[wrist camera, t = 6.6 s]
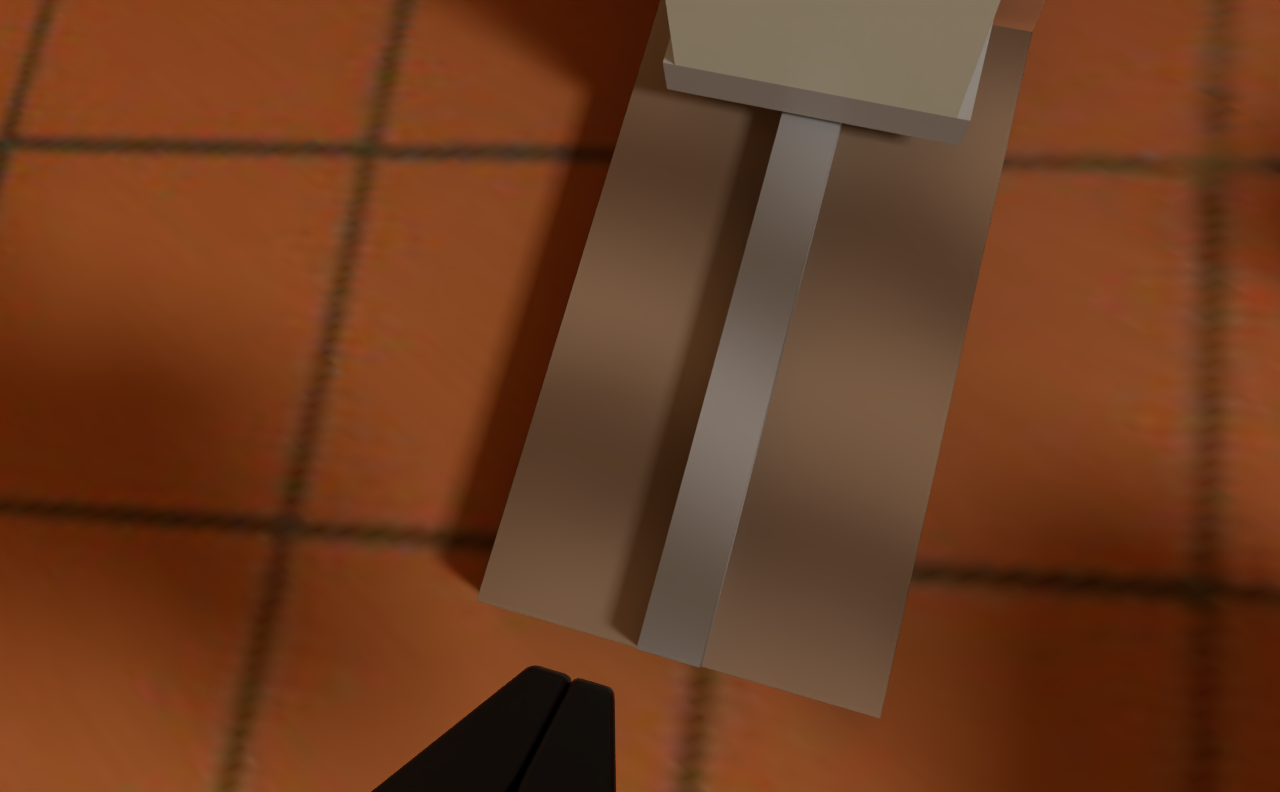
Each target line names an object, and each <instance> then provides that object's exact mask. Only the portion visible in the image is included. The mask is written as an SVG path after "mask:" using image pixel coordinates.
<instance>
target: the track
mask: <svg viewBox="0 0 1280 792" xmlns="http://www.w3.org/2000/svg"><path fill="white" fill-rule="evenodd" d="M1045 2H1046V0H1001V1H1000V3H999V6H998V9H997V11H996V14H995V17H994V20H993V25H992V29H991V33H990V38H989V42H988V46H987V51H986V55H985V59H984V64H983V68H982V72H981V77H980V81H979V85H978V90H977V94H976V98H975V103H974V107H973V111H972V116H971V120H970V123H969V125H968V128H967V130H966V133H965V135H964V138H963V140H962V143H961V145H960V146H958V145H953V144H948V143H943V142H937V141H932V140H927V139H922V138H917V137H912V136H906V135H901V134H896V133H891V132H886V131H881V130H876V129H870V128H865V127H860V126H855V125H850V124H845V123H839V122H834V121H829V120H824V119H819V118H814V117H809V116H803V115H798V114H793V113H788V112H783V111H778V110H772V109H767V108H762V107H757V106H752V105H747V104H741V103H736V102H731V101H726V100H721V99H716V98H711V97H705V96H700V95H695V94H690V93H685V92H680V91H674V90H669V89H667V85H666V79H665V73H664V67H663V60H664V57H665V53H666V50H667V47H668V44H669V40H670V37H671V35H670V28H669V21H668V15H667V8H666V1H665V0H660V3H659V6H658V10H657V13H656V16H655V19H654V23H653V26H652V29H651V32H650V36H649V39H648V42H647V46H646V49H645V52H644V55H643V59H642V62H641V65H640V68H639V72H638V75H637V78H636V81H635V85H634V88H633V91H632V95H631V98H630V101H629V104H628V108H627V111H626V114H625V117H624V121H623V124H622V127H621V130H620V134H619V137H618V140H617V144H616V147H615V150H614V153H613V157H612V160H611V163H610V166H609V170H608V173H607V176H606V180H605V183H604V186H603V189H602V193H601V196H600V199H599V202H598V206H597V209H596V212H595V215H594V219H593V222H592V225H591V229H590V232H589V235H588V238H587V242H586V245H585V248H584V251H583V255H582V258H581V261H580V264H579V268H578V271H577V274H576V278H575V281H574V284H573V287H572V291H571V294H570V297H569V300H568V304H567V307H566V310H565V314H564V317H563V320H562V323H561V327H560V330H559V333H558V336H557V340H556V343H555V346H554V349H553V353H552V356H551V359H550V363H549V366H548V369H547V372H546V376H545V379H544V382H543V385H542V389H541V392H540V395H539V398H538V402H537V405H536V408H535V412H534V415H533V418H532V421H531V425H530V428H529V431H528V434H527V438H526V441H525V444H524V448H523V451H522V454H521V457H520V461H519V464H518V467H517V470H516V474H515V477H514V480H513V483H512V487H511V490H510V493H509V497H508V500H507V503H506V506H505V510H504V513H503V516H502V519H501V523H500V526H499V529H498V532H497V536H496V539H495V542H494V546H493V549H492V552H491V555H490V559H489V562H488V565H487V568H486V572H485V575H484V578H483V581H482V585H481V588H480V591H479V595H478V598H477V601H479V602H482V603H485V604H489V605H492V606H496V607H499V608H503V609H506V610H509V611H513V612H516V613H520V614H523V615H527V616H530V617H533V618H537V619H540V620H544V621H547V622H551V623H554V624H557V625H561V626H564V627H568V628H571V629H575V630H578V631H581V632H585V633H588V634H592V635H595V636H599V637H602V638H605V639H609V640H612V641H616V642H619V643H623V644H626V645H629V646H633V647H636V649H638V650H641V651H645V652H648V653H651V654H655V655H658V656H662V657H665V658H669V659H672V660H675V661H679V662H682V663H686V664H689V665H693V666H696V667H705V668H708V669H712V670H715V671H718V672H722V673H725V674H729V675H732V676H736V677H739V678H742V679H746V680H749V681H753V682H756V683H760V684H763V685H766V686H770V687H773V688H777V689H780V690H784V691H787V692H790V693H794V694H797V695H801V696H804V697H808V698H811V699H814V700H818V701H821V702H825V703H828V704H832V705H835V706H838V707H842V708H845V709H849V710H852V711H856V712H859V713H862V714H866V715H869V716H873V717H876V718H879V719H880V717H881V712H882V708H883V703H884V699H885V694H886V690H887V685H888V681H889V676H890V672H891V667H892V663H893V658H894V653H895V649H896V644H897V640H898V635H899V631H900V626H901V622H902V617H903V613H904V608H905V604H906V599H907V595H908V590H909V586H910V581H911V577H912V572H913V568H914V563H915V559H916V554H917V550H918V545H919V541H920V536H921V532H922V527H923V523H924V518H925V514H926V509H927V505H928V500H929V496H930V491H931V487H932V482H933V478H934V473H935V469H936V464H937V460H938V455H939V451H940V446H941V442H942V437H943V433H944V428H945V424H946V419H947V415H948V410H949V406H950V401H951V397H952V392H953V388H954V383H955V378H956V374H957V369H958V365H959V360H960V356H961V351H962V347H963V342H964V338H965V333H966V329H967V324H968V320H969V315H970V311H971V306H972V302H973V297H974V293H975V288H976V284H977V279H978V275H979V270H980V266H981V261H982V257H983V252H984V248H985V243H986V239H987V234H988V230H989V225H990V221H991V216H992V212H993V207H994V203H995V198H996V194H997V189H998V185H999V180H1000V176H1001V171H1002V167H1003V162H1004V158H1005V153H1006V149H1007V144H1008V140H1009V135H1010V131H1011V126H1012V122H1013V117H1014V113H1015V108H1016V103H1017V99H1018V94H1019V90H1020V85H1021V81H1022V76H1023V72H1024V67H1025V63H1026V58H1027V54H1028V49H1029V45H1030V40H1031V36H1032V32H1033V29H1034V27H1035V25H1036V23H1037V20H1038V18H1039V16H1040V14H1041V11H1042V9H1043V7H1044V5H1045Z"/></svg>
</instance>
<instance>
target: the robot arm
mask: <svg viewBox="0 0 1280 792" xmlns="http://www.w3.org/2000/svg"><path fill="white" fill-rule="evenodd" d="M372 792H616V761H615V700H614V692H613V690H612V689H611V688H610V687H608V686H604V685H601V684H598V683H594V682H591V681H587V680H584V679H579V678H577V679H574V680H573V681H572V682H571V678H570V677H569V676H568V675H566V674H564V673H561V672H557V671H554V670H551V669H547V668H544V667H541V666H535V665H534V666H530V667H528V668H526V669H525V670H523V671H522V672H521V673H520V674H518V675H517V676H516V677H515V678H513V679H512V680H511V681H510V682H508V683H507V684H506V685H505V686H503V687H502V688H501V689H500V690H498V691H497V692H496V693H495V694H493V695H492V696H491V697H490V698H488V699H487V700H486V701H484V702H483V703H482V704H481V705H479V706H478V707H477V708H476V709H474V710H473V711H472V712H471V713H469V714H468V715H467V716H466V717H464V718H463V719H462V720H461V721H459V722H458V723H457V724H456V725H454V726H453V727H452V728H451V729H449V730H448V731H447V732H446V733H444V734H443V735H442V736H441V737H439V738H438V739H437V740H436V741H434V742H433V743H432V744H431V745H429V746H428V747H427V748H426V749H424V750H423V751H422V752H420V753H419V754H418V755H417V756H415V757H414V758H413V759H412V760H410V761H409V762H408V763H407V764H405V765H404V766H403V767H402V768H400V769H399V770H398V771H397V772H395V773H394V774H393V775H392V776H390V777H389V778H388V779H387V780H385V781H384V782H383V783H382V784H380V785H379V786H378V787H377V788H375V789H374V790H373V791H372Z"/></svg>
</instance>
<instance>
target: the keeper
mask: <svg viewBox="0 0 1280 792" xmlns="http://www.w3.org/2000/svg"><path fill="white" fill-rule="evenodd" d="M665 1H666V8H667V15H668V21H669V28H670V35H671V37H670V40H669V44H668V47H667V50H666V53H665V57H664V60H663V67H664V73H665V79H666V85H667V89H669V90H674V91H680V92H685V93H690V94H695V95H700V96H705V97H711V98H716V99H721V100H726V101H731V102H736V103H741V104H747V105H752V106H757V107H762V108H767V109H772V110H778V111H783V112H788V113H793V114H798V115H803V116H809V117H814V118H819V119H824V120H829V121H834V122H839V123H845V124H850V125H855V126H860V127H865V128H870V129H876V130H881V131H886V132H891V133H896V134H901V135H906V136H912V137H917V138H922V139H927V140H932V141H937V142H943V143H948V144H953V145H958V146H960V145H961V143H962V140H963V138H964V135H965V133H966V130H967V128H968V125H969V123H970V120H971V116H972V111H973V107H974V103H975V98H976V94H977V90H978V85H979V81H980V77H981V72H982V68H983V64H984V59H985V55H986V51H987V46H988V42H989V38H990V33H991V29H992V25H993V20H994V17H995V14H996V11H997V9H998V6H999V3H1000V1H1001V0H665Z"/></svg>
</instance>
